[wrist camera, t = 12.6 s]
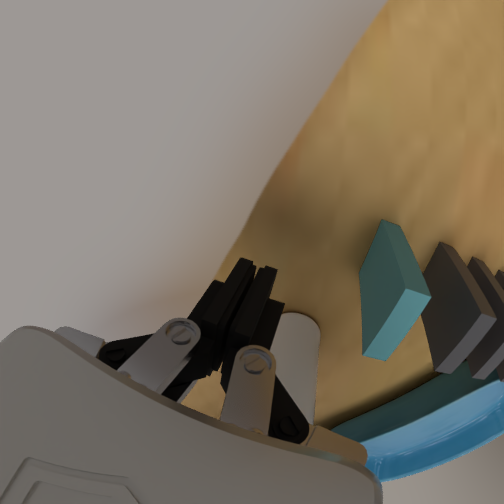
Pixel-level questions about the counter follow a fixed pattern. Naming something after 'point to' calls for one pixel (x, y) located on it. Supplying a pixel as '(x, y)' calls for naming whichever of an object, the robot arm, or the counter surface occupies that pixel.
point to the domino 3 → (503, 367)
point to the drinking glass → (298, 359)
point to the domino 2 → (500, 334)
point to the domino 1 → (453, 310)
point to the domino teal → (389, 292)
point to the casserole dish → (430, 424)
